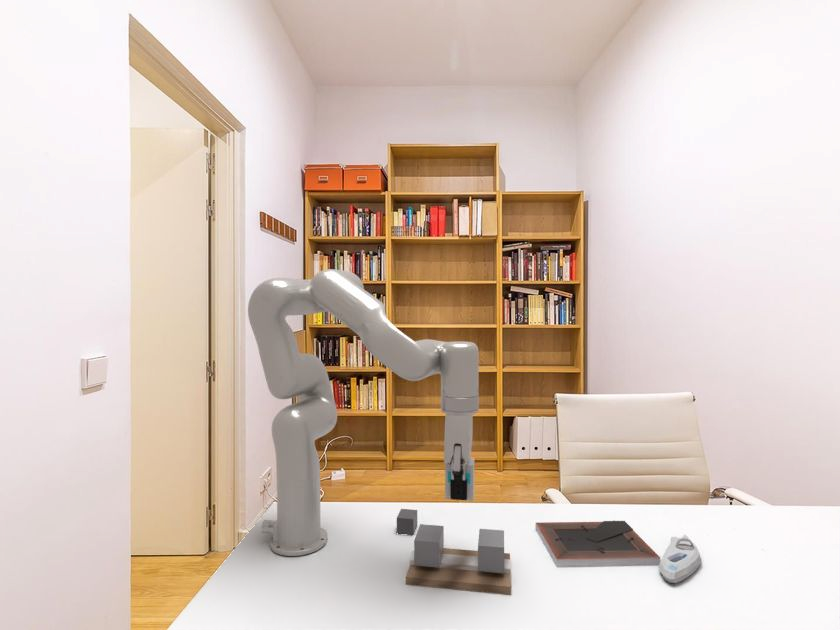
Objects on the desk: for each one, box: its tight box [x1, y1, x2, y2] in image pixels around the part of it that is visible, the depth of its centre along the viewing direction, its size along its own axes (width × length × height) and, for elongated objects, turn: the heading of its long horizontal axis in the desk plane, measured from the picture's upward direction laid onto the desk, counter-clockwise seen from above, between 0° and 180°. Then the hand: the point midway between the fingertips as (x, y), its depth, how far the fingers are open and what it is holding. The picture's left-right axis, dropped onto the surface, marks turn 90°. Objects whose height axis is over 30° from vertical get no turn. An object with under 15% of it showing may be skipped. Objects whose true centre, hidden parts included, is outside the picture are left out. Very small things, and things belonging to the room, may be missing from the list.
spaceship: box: [657, 534, 702, 584], centre depth 101 cm, size 23×7×4 cm, turn 144°
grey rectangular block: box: [396, 508, 418, 536], centre depth 115 cm, size 4×5×4 cm
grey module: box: [444, 457, 475, 502], centre depth 97 cm, size 6×5×7 cm
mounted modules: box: [413, 523, 505, 573], centre depth 97 cm, size 18×7×5 cm, turn 80°
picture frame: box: [535, 520, 661, 568], centre depth 107 cm, size 16×2×22 cm
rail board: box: [405, 547, 512, 596], centre depth 97 cm, size 20×12×2 cm, turn 80°
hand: (460, 492), depth 97 cm, fingers closed on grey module, 4 cm apart
